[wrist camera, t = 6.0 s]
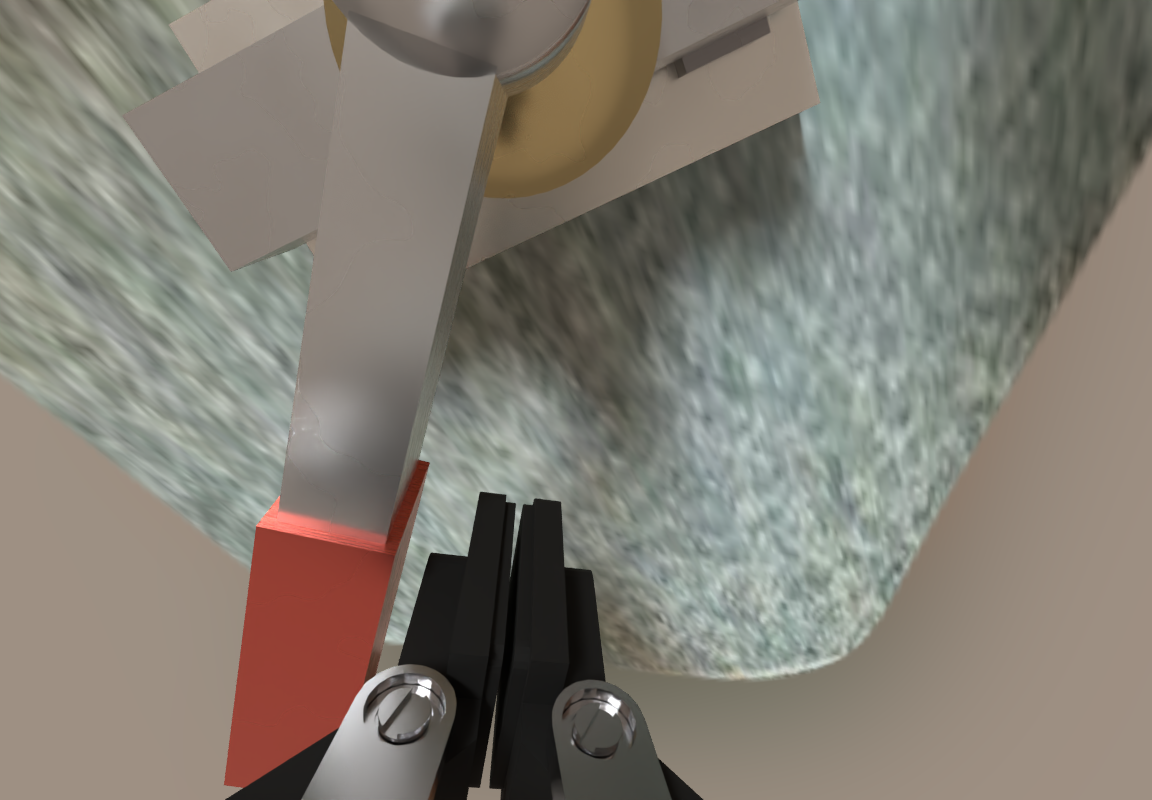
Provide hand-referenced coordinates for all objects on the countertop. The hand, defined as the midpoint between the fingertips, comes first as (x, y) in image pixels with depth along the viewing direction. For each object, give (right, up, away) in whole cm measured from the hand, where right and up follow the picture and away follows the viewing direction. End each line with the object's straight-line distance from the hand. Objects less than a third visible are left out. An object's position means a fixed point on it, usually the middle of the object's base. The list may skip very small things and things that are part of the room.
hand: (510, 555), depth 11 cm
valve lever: (-2, +4, -1) cm, 4 cm away
